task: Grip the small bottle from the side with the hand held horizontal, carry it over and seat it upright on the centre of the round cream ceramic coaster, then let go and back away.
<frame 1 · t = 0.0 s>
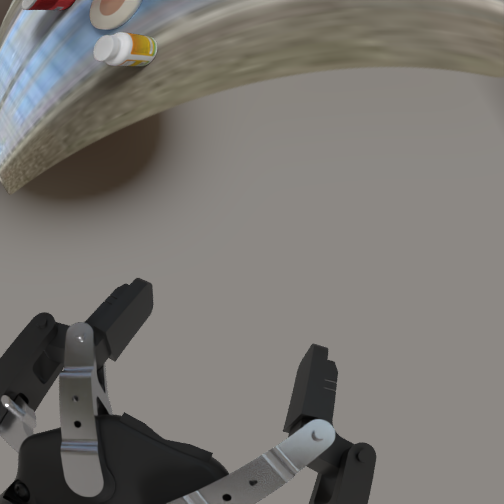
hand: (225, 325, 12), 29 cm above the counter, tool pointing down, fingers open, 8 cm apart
supplement bottle: (145, 51, 32), on the counter
coaster: (118, 1, 27), on the counter
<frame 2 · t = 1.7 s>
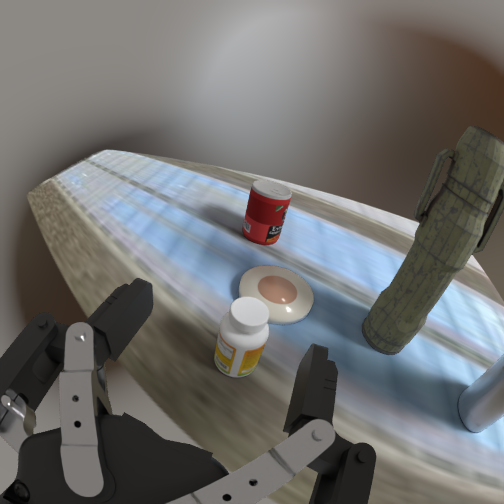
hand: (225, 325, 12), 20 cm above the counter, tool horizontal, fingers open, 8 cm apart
thermos: (383, 335, 41), on the counter
canned food: (259, 235, 58), on the counter
supplement bottle: (234, 361, 33), on the counter
coaster: (275, 296, 44), on the counter
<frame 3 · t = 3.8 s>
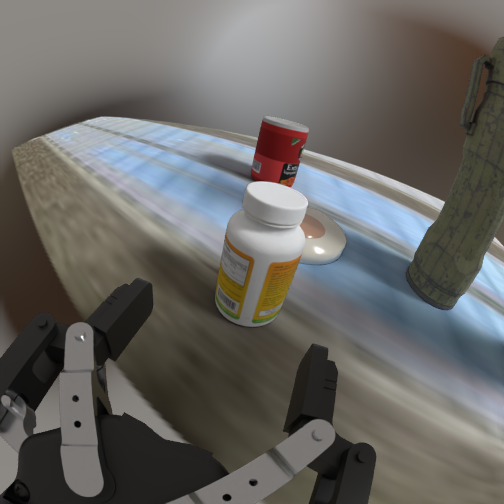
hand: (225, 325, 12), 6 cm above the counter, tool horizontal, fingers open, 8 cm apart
thermos: (430, 288, 31), on the counter
canned food: (271, 181, 48), on the counter
supplement bottle: (246, 305, 22), on the counter
coaster: (296, 234, 34), on the counter
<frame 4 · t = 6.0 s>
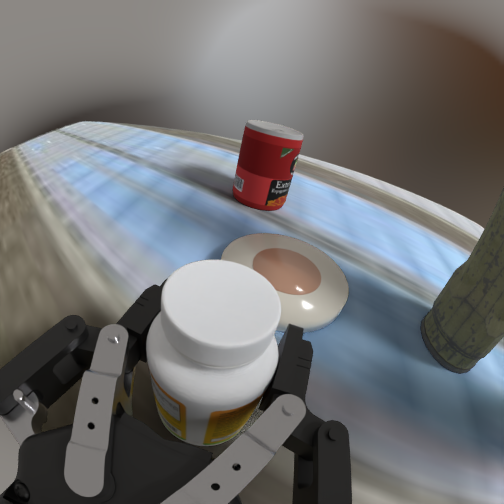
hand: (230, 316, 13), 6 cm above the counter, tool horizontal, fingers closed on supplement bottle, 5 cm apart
thermos: (448, 343, 23), on the counter
canned food: (257, 200, 40), on the counter
supplement bottle: (202, 408, 14), on the counter, touching gripper
coaster: (283, 282, 26), on the counter
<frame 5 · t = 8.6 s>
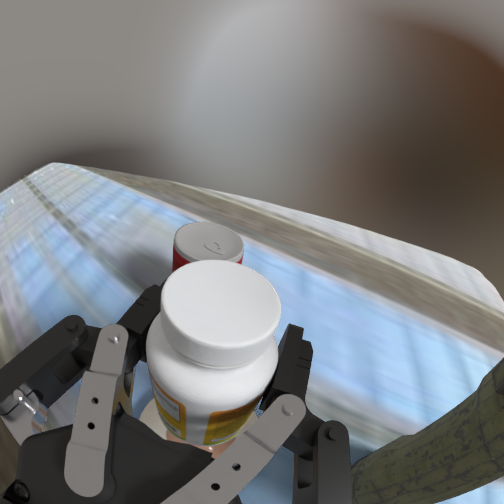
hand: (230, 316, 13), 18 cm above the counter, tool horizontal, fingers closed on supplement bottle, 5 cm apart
thermos: (375, 487, 18), on the counter
canned food: (200, 309, 36), on the counter
supplement bottle: (201, 408, 14), point 11 cm above the counter, touching gripper
coaster: (200, 440, 21), on the counter
when the fingers open (9 cm above the counter, at t = 11.3 s): supplement bottle drops 1 cm, resting on coaster.
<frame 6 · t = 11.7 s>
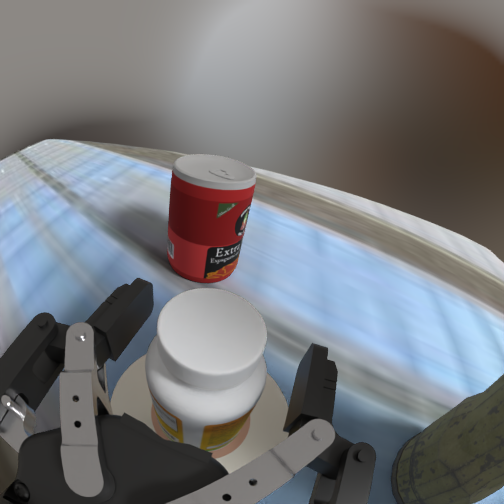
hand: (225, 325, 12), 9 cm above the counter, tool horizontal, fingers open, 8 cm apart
thermos: (428, 474, 13), on the counter
canned food: (201, 262, 30), on the counter
supplement bottle: (199, 416, 15), point 1 cm above the counter, touching coaster
coaster: (199, 421, 16), on the counter
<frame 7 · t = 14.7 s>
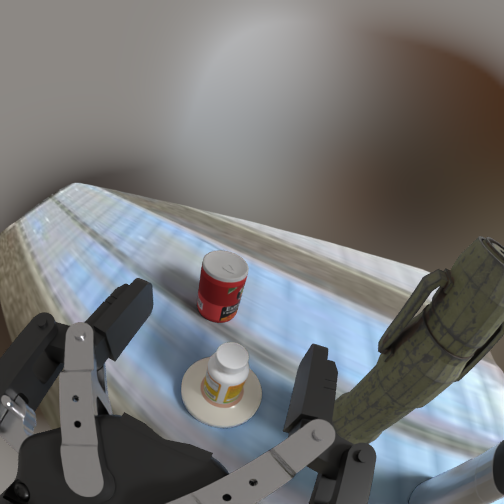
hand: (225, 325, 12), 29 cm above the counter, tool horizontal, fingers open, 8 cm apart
thermos: (338, 432, 35), on the counter
canned food: (216, 309, 52), on the counter
supplement bottle: (221, 389, 37), point 1 cm above the counter, touching coaster
coaster: (220, 393, 37), on the counter
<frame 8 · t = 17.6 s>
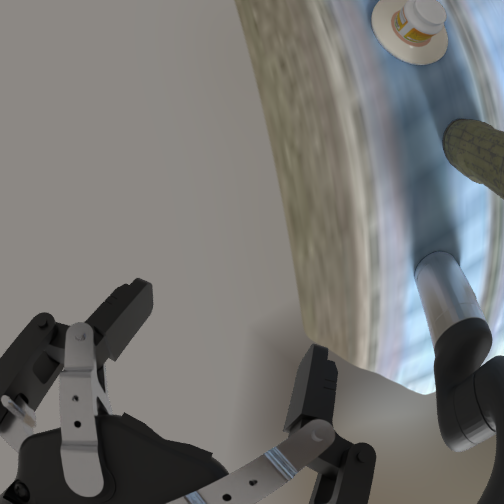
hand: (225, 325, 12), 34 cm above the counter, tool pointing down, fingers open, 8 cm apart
thermos: (464, 145, 31), on the counter
supplement bottle: (410, 27, 23), point 1 cm above the counter, touching coaster
coaster: (409, 30, 24), on the counter
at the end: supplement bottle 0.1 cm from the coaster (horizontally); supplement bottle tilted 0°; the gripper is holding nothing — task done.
